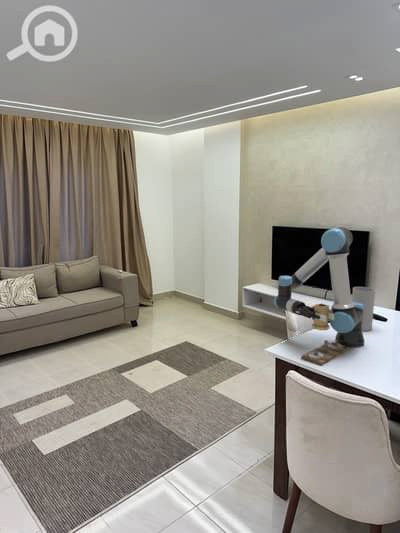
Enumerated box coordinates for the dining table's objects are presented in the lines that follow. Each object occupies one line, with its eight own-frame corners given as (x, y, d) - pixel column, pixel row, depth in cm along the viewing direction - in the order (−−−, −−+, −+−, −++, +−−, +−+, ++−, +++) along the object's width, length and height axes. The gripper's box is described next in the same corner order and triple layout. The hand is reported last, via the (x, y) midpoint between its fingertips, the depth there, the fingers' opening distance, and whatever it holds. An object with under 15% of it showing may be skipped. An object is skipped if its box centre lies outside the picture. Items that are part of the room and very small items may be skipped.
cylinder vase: (352, 323, 240) (355, 285, 236) (373, 327, 233) (377, 288, 229) (347, 328, 230) (350, 289, 226) (369, 332, 223) (372, 292, 219)
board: (328, 344, 204) (329, 331, 203) (348, 350, 196) (349, 337, 195) (301, 358, 185) (301, 344, 184) (321, 365, 177) (322, 351, 176)
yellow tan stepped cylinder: (320, 324, 197) (321, 302, 195) (333, 328, 190) (334, 306, 188) (308, 326, 193) (309, 304, 191) (321, 331, 185) (322, 308, 183)
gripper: (307, 311, 210) (341, 322, 190) (283, 316, 202) (316, 328, 182) (308, 298, 209) (342, 308, 189) (284, 302, 200) (317, 313, 180)
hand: (329, 318), depth 186 cm, fingers closed on yellow tan stepped cylinder, 5 cm apart
